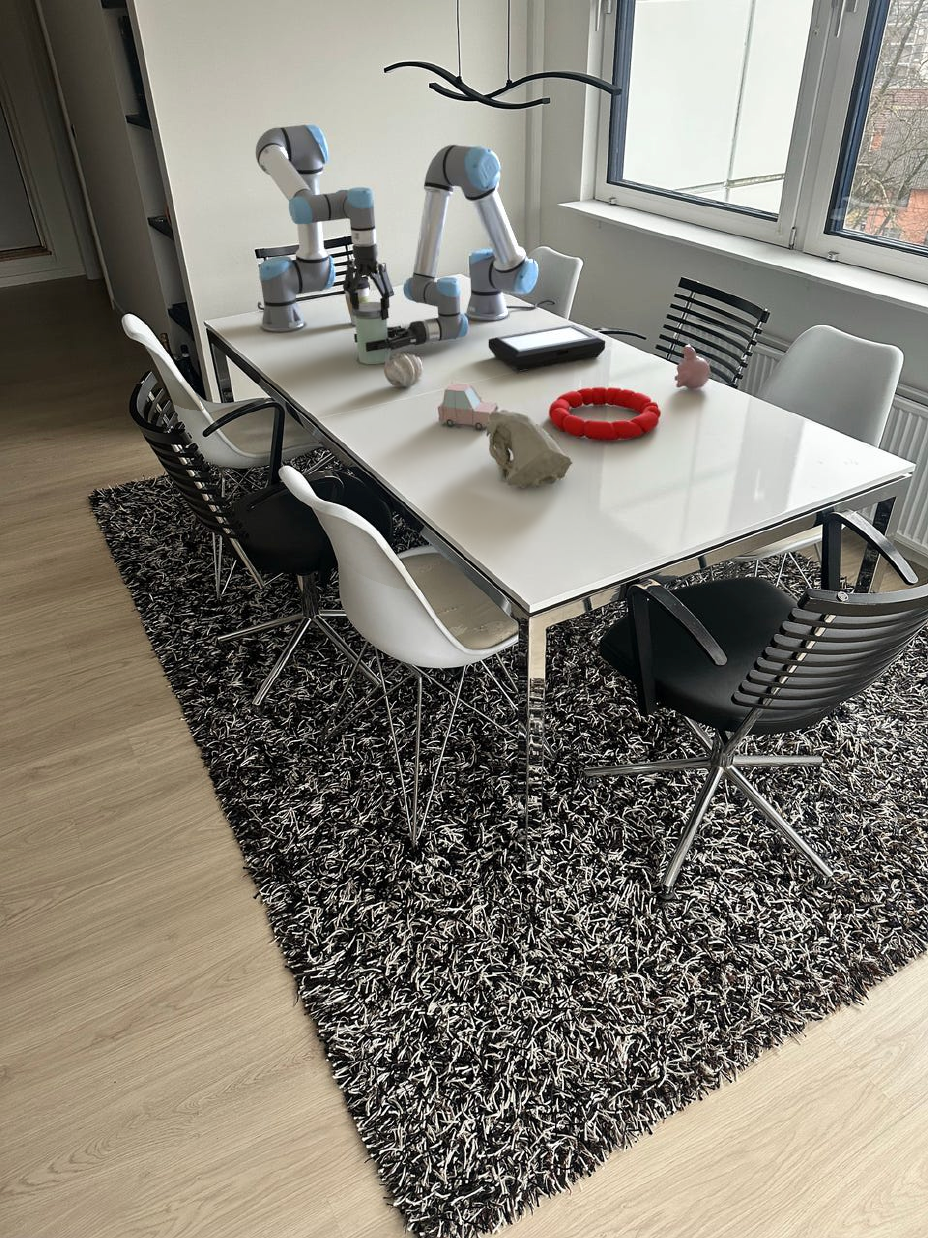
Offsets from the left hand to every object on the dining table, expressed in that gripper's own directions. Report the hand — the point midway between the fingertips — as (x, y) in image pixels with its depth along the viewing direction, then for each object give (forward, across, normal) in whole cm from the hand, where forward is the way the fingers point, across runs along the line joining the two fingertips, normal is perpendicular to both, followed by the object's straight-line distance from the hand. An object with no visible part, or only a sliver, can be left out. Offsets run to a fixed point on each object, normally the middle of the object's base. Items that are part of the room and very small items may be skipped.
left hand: (370, 316), depth 285 cm
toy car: (+14, +57, -32) cm, 66 cm away
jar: (+14, 0, 0) cm, 14 cm away
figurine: (+14, +100, +22) cm, 104 cm away
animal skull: (+14, +84, -51) cm, 99 cm away
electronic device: (+14, +49, +28) cm, 58 cm away
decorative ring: (+14, +89, -13) cm, 91 cm away
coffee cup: (+14, -29, +30) cm, 44 cm away
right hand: (+8, -2, -4) cm, 9 cm away
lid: (-3, 0, 0) cm, 3 cm away
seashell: (+14, +24, -16) cm, 32 cm away
